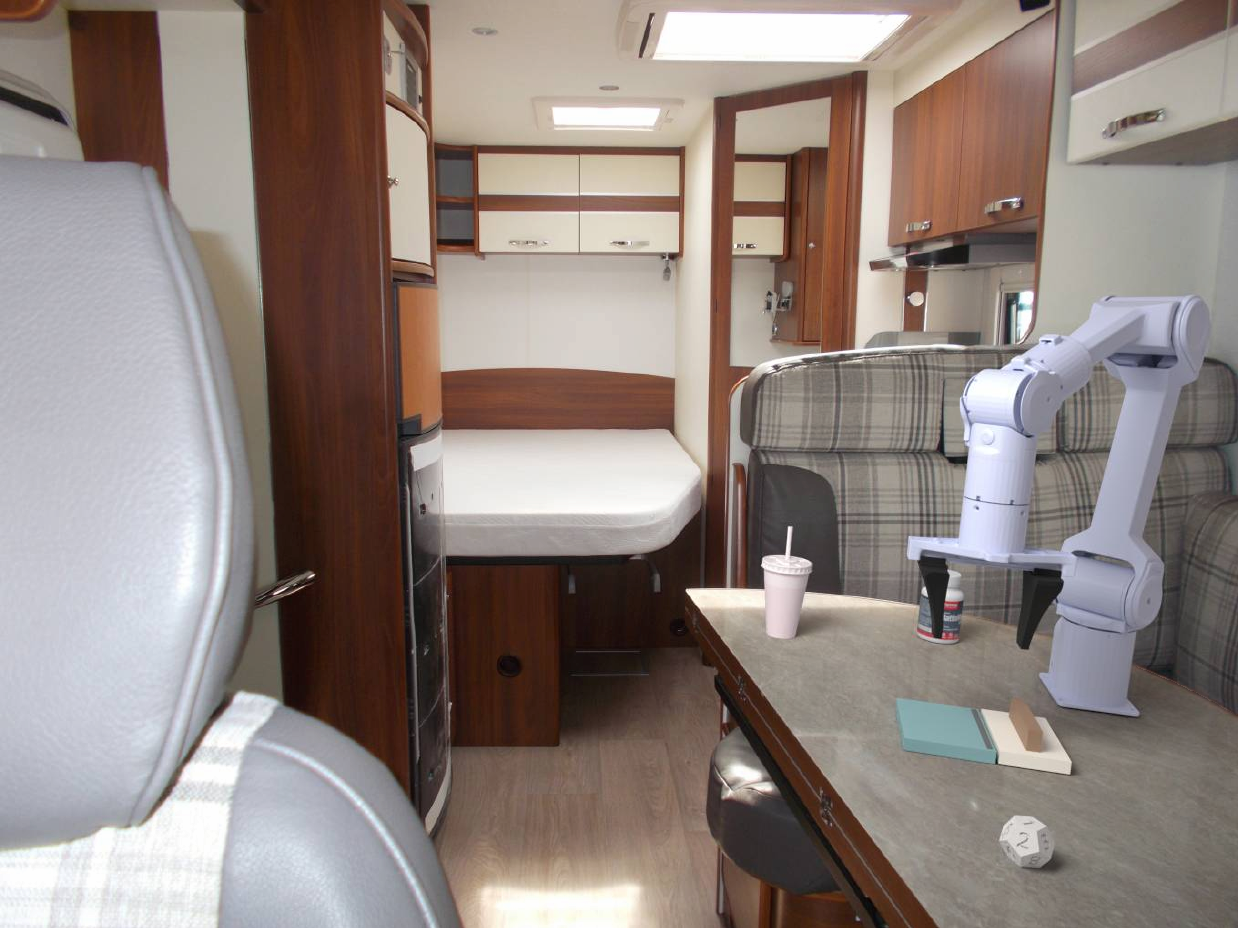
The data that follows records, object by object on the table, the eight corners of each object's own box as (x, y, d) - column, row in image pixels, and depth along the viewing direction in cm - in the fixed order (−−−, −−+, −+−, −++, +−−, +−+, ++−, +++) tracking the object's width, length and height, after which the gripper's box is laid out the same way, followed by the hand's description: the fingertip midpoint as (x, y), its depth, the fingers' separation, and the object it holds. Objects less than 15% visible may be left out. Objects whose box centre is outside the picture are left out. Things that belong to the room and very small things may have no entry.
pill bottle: (938, 646, 113) (946, 579, 112) (907, 633, 118) (915, 568, 117) (967, 642, 116) (975, 576, 115) (936, 629, 120) (943, 566, 119)
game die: (986, 850, 67) (991, 812, 66) (1027, 844, 68) (1031, 807, 67) (1021, 877, 63) (1026, 838, 63) (1062, 871, 64) (1068, 832, 64)
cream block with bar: (980, 719, 90) (983, 689, 90) (1043, 729, 89) (1047, 698, 89) (998, 763, 81) (1002, 730, 80) (1070, 774, 79) (1074, 740, 79)
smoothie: (806, 629, 117) (816, 525, 115) (805, 645, 111) (815, 535, 109) (757, 623, 118) (766, 520, 116) (753, 638, 112) (762, 529, 110)
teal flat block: (895, 708, 92) (896, 696, 92) (976, 720, 91) (978, 708, 90) (903, 750, 83) (904, 736, 82) (994, 764, 81) (996, 750, 81)
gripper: (919, 498, 80) (903, 643, 82) (1094, 515, 77) (1073, 665, 79) (911, 487, 87) (896, 621, 89) (1071, 502, 84) (1053, 640, 86)
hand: (979, 640), depth 84 cm, fingers open, 7 cm apart
